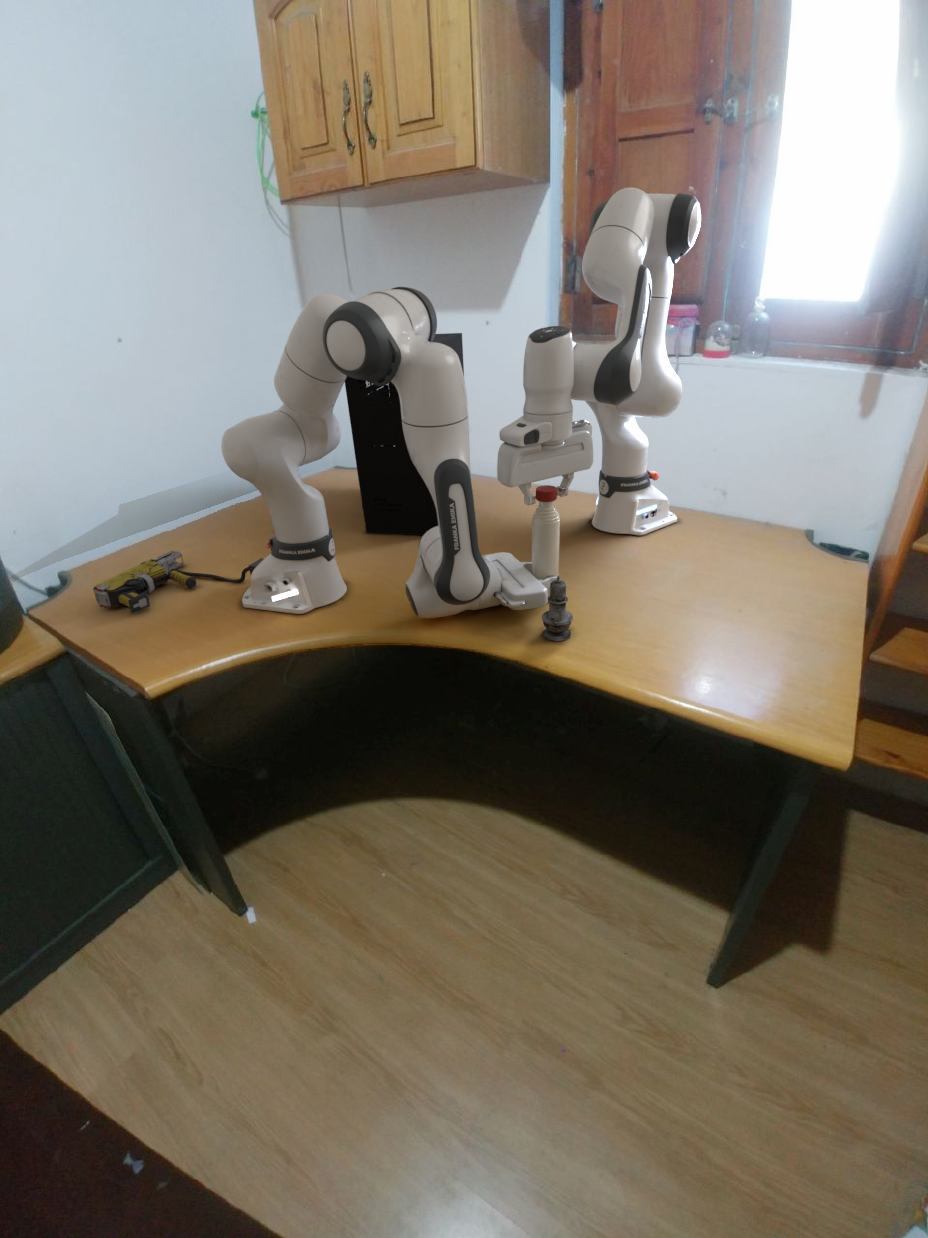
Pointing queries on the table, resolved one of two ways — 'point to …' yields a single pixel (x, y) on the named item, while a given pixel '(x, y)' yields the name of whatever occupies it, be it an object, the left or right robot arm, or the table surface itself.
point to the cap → (546, 493)
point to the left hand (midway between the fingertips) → (548, 572)
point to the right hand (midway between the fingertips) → (546, 499)
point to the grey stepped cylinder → (557, 613)
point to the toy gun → (141, 582)
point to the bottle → (545, 541)
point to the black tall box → (389, 457)
